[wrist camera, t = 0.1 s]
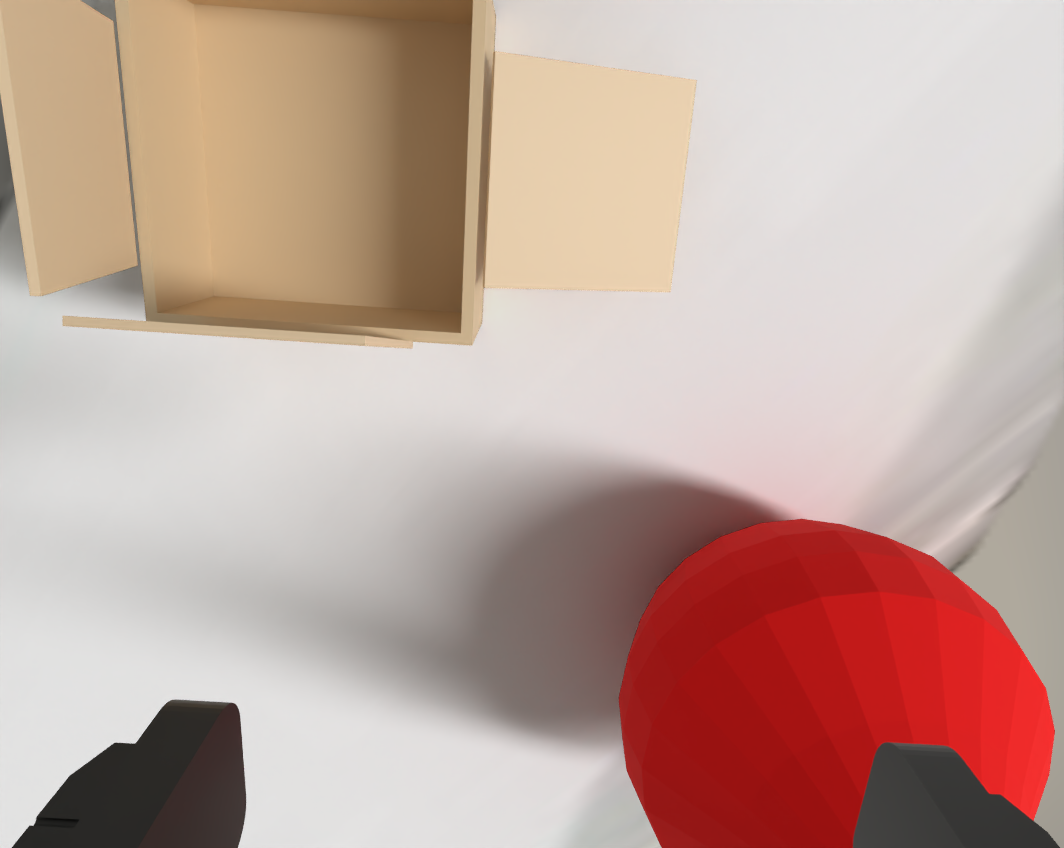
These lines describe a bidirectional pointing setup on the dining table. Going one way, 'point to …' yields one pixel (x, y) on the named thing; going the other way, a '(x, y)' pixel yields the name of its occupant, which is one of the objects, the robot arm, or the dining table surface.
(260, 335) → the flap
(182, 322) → the carton
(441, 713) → the dining table surface
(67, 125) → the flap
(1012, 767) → the vase
